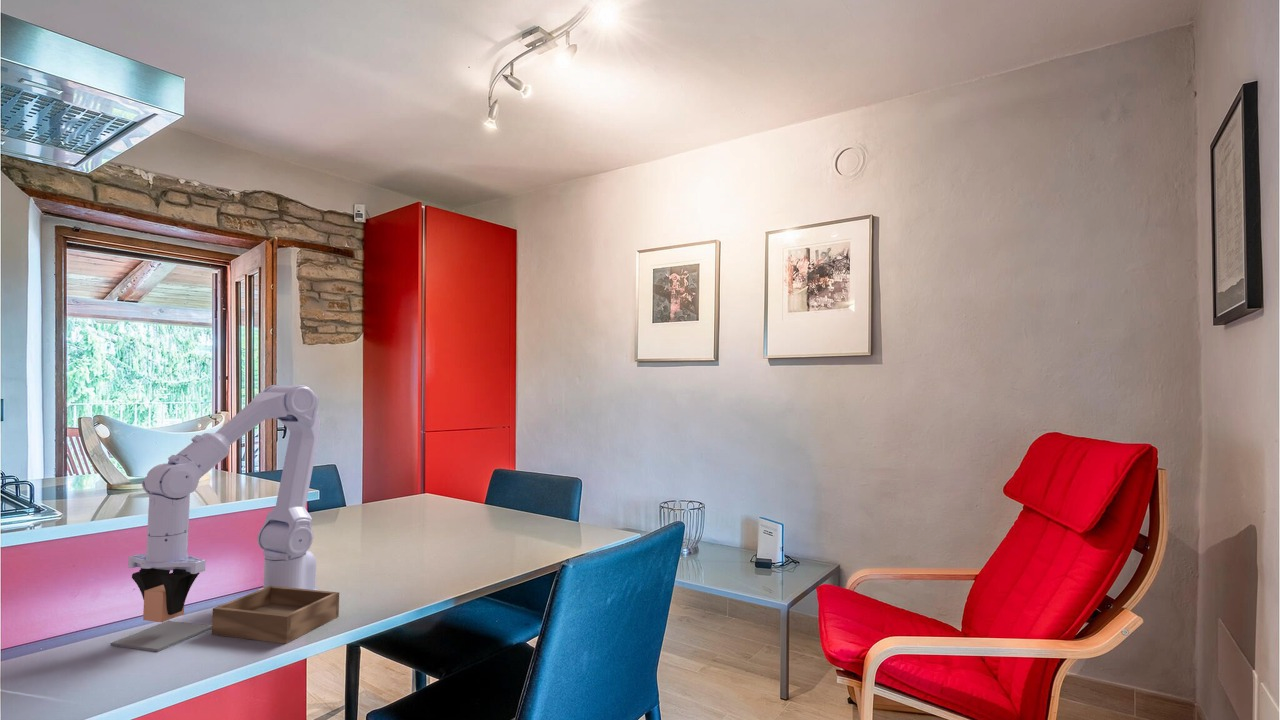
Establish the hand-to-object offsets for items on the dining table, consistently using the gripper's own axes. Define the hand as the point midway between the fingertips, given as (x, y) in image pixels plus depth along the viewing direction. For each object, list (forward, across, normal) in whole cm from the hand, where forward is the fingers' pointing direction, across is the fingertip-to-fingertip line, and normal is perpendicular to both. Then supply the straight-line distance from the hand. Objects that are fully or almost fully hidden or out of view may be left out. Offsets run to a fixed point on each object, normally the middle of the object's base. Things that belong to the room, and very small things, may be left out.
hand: (164, 611), depth 106 cm
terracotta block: (+1, 0, 0) cm, 1 cm away
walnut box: (+4, +15, +9) cm, 18 cm away
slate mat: (+4, 0, 0) cm, 4 cm away
